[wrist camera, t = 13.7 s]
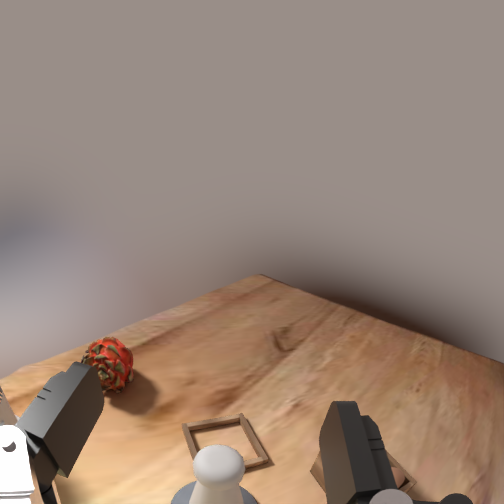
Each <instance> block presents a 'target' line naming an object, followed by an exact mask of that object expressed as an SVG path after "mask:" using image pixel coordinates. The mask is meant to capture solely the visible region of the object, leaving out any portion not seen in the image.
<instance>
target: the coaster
mask: <svg viewBox="0 0 504 504" xmlns="http://www.w3.org/2000/svg"><path fill="white" fill-rule="evenodd" d="M196 482H197V481H195V482H192V483H190V484H188V485H186V486H184V487H183V488H181V489H180V490H179V491H178V492H177V493H176V494H175V496H174V497H173V499H172V502H171V504H189V501H190V498H191V495H192V493H193V490H194V487H195V484H196ZM240 490H241V494H242V498H243V502H244V504H257V502H256V501H255V499H254V498H253V496H252V495H251V494H250V493H249V492H248V491H247V490H245V489H244V488H242V487H241V486H240Z"/></svg>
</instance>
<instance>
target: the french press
mask: <svg viewBox="0 0 504 504" xmlns="http://www.w3.org/2000/svg"><path fill="white" fill-rule="evenodd" d="M0 392H1V393H2V395H1V394H0V396H1V397H2V399H1V398H0V400H1V402H0V427H3V426H12V427H13V426H14V425H15V424H16V423H17V421H18V420H19V419H20V418H19V417H18V416H17V415H15V414H14V413H13V411H12V409H11V407H10V405H9V403H8V401H7V399H6V397H5V395H4V393H3V391H2V389H1V387H0Z"/></svg>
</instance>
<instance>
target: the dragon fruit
mask: <svg viewBox="0 0 504 504" xmlns="http://www.w3.org/2000/svg"><path fill="white" fill-rule="evenodd" d="M88 352H89V354H88V355H86V356H85V358H84V356H83V357H82V359H81V363H83V364H87V365H90V366H94V367H96V369H97V372H98V376H99V380H100V384H101V388H102V391H104V390H109V389H113V390H114V391H115V392H116V393H119V392H122V391H123V389H124V387H125V382H128V383H129V382H132V381H133V380H134V379H133V370H132V366H133V355H132V353H131V351H130V350H129V349H128V348H126V347H125V345H124V344H122V343H121V342H120V341H119V340H118V339H116V338H114V337H112V338H110V337H105V338H104V339H103V340H97V342H93V343H92V344H90V345H89V347H88V350H87V351H86V352H85V353H88Z"/></svg>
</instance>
